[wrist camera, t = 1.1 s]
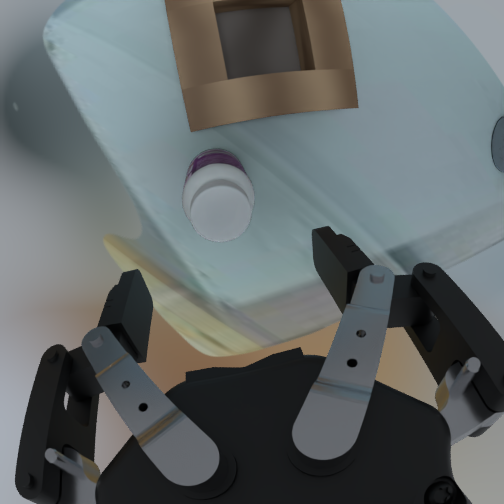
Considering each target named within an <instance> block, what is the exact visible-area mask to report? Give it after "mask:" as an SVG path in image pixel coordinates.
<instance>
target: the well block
mask: <svg viewBox="0 0 504 504" xmlns="http://www.w3.org/2000/svg"><path fill="white" fill-rule="evenodd" d="M165 5H166V11H167V16H168V22H169V27H170V33H171V38H172V43H173V49H174V54H175V59H176V64H177V69H178V74H179V79H180V84H181V89H182V93H183V98H184V103H185V107H186V112H187V117H188V121H189V126H190V130H191V132H194V131H198V130H202V129H206V128H211V127H216V126H220V125H225V124H230V123H235V122H241V121H246V120H252V119H258V118H264V117H271V116H277V115H285V114H292V113H301V112H310V111H320V110H332V109H347V108H358V99H357V90H356V82H355V75H354V68H353V61H352V55H351V48H350V43H349V37H348V32H347V27H346V22H345V17H344V12H343V8H342V4H341V0H165Z"/></svg>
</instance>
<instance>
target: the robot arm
mask: <svg viewBox="0 0 504 504" xmlns="http://www.w3.org/2000/svg"><path fill="white" fill-rule="evenodd" d="M492 154H493V160H494V163H495V166H496V167H497V169H498V170H500V171H502V172H504V117H502V118H501V119H500V120H499V121H498V123H497V125H496V127H495V130H494V134H493V140H492ZM312 244H313V260H314V265H315V268H316V271H317V272H318V274H319V276H320V277H321V279H322V281H323V282H324V284H325V286H326V287H327V289H328V290H329V292H330V294H331V295H332V297H333V299H334V300H335V302H336V304H337V306H338V307H339V309H340V311H341V312H342V314H343V316H342V318H341V321H340V324H339V327H338V329H337V332H336V335H335V337H334V340H333V343H332V345H331V348H330V350H329V353H328V355H327V357H323V356H318V355H303V352H302V350H301V348H300V347H299V348H296V349H292V350H288V351H284V352H280V353H276V354H272V355H270V356H268V357H266V358H264V359H261V360H259V361H257V362H255V363H253V364H251V365H248V366H246V367H241V368H230V367H229V368H227V367H212V368H206V369H201V370H195V371H189V372H186V381H184V382H182V383H180V384H178V385H176V386H175V387H173V388H171V389H170V390H169V391H168V392H167V393H165V394H163V392H162V391H161V390H160V389H159V388H158V387H157V386H156V385H155V384H154V382H153V381H152V380H151V379H150V378H149V377H148V376H147V375H146V373H145V372H144V371H143V370H142V369H141V367H140V366H139V365H138V364H137V363H142V362H146V357H147V348H148V341H149V333H150V325H151V319H152V312H153V301H152V297H151V295H150V293H149V290H148V288H147V286H146V284H145V281H144V279H143V277H142V275H141V272H140V271H139V270H138V269H136V270H131V271H127V272H123V273H122V276H121V278H120V281H119V284H118V285H115V286H114V287H113V288H112V290H111V291H110V292H109V294H108V297H107V300H106V303H105V305H104V308H103V311H102V314H101V317H100V320H99V323H98V326H97V327H96V328H94V329H92V330H90V331H89V332H88V333H87V334H86V335H85V336H84V338H83V340H82V344H81V345H82V346H81V347H78V348H76V349H74V350H71V351H69V352H68V351H67V350H66V349H65V347H64V346H63V345H59V344H57V345H54V346H52V347H50V348H49V349H47V350H46V352H45V353H44V354H43V356H42V358H41V362H40V364H39V367H38V371H37V374H36V377H35V381H34V384H33V388H32V391H31V395H30V399H29V403H28V407H27V411H26V415H25V419H24V425H23V429H22V434H21V440H20V445H19V452H18V458H17V465H16V474H15V484H16V488H17V490H18V492H19V494H20V495H22V497H24V498H26V499H28V500H30V501H32V502H34V503H37V504H472V503H471V502H470V500H469V499H468V498H467V497H466V496H465V495H464V493H463V492H462V491H461V489H460V488H459V487H458V485H457V484H456V482H455V480H454V477H453V473H452V468H451V459H450V458H451V454H450V451H451V446H452V445H453V444H455V443H457V442H458V441H460V440H462V439H464V438H465V437H467V436H470V437H476V436H480V435H481V434H483V433H484V432H485V431H486V430H487V429H488V428H489V427H491V426H492V425H493V424H494V423H495V422H496V421H497V420H498V419H499V418H500V417H501V416H502V415H503V414H504V341H503V339H502V338H501V337H500V335H499V334H498V333H497V332H496V331H495V329H494V328H493V326H492V325H491V324H490V323H489V321H488V320H487V319H486V318H485V317H484V315H483V314H482V313H481V312H480V311H479V309H478V308H477V307H476V306H475V305H474V304H473V302H472V301H471V300H470V299H469V298H468V297H467V296H466V294H465V293H464V292H463V291H462V290H461V289H460V288H459V287H458V286H457V285H456V283H455V282H454V281H453V280H452V279H451V278H450V277H449V276H448V275H447V274H446V273H445V272H444V271H443V270H442V269H441V268H440V267H439V266H437V265H435V264H432V263H419V264H417V265H416V266H415V267H414V268H413V273H412V275H394V273H393V272H392V271H391V270H390V269H389V268H387V267H384V266H381V265H374V264H373V263H372V261H371V260H370V259H369V258H368V257H367V256H366V255H365V254H364V253H363V251H362V250H360V248H359V247H358V246H357V245H356V244H355V243H354V242H353V241H352V240H351V239H350V238H349V237H347V236H345V235H342V234H339V235H336V234H335V232H334V231H333V230H332V229H331V228H330V227H329V226H326V227H321V228H317V229H313V230H312ZM435 316H436V317H435ZM437 319H438V320H437ZM394 327H404V329H405V330H406V332H407V333H408V335H409V337H410V338H411V340H412V341H413V343H414V345H415V346H416V348H417V350H418V351H419V353H420V355H421V356H422V358H423V360H424V361H425V363H426V365H427V366H428V368H429V370H430V372H431V373H432V375H433V377H434V379H435V380H436V382H437V384H438V388H437V390H436V393H435V399H436V403H437V406H438V410H437V409H436V408H434V407H433V406H431V405H429V404H427V403H424V402H422V401H420V400H417V399H415V398H413V397H411V396H409V395H407V394H404V393H402V392H400V391H398V390H396V389H393V388H391V387H389V386H387V385H385V384H382V383H380V382H379V381H376V380H375V377H376V373H377V370H378V366H379V362H380V357H381V353H382V348H383V344H384V339H385V335H386V330H387V328H394ZM65 392H67V393H68V394H69V398H68V405H67V410H65V407H64V397H65ZM103 392H105V394H106V395H107V397H108V398H109V400H110V401H111V403H112V404H113V406H114V408H115V409H116V411H117V412H118V413H119V415H120V416H121V418H122V419H123V421H124V422H125V424H126V425H127V426H128V428H129V429H130V431H131V432H132V433H133V435H132V436H131V437H130V438H129V440H128V441H127V442H126V444H125V445H124V446H123V447H122V449H121V450H120V451H119V452H118V454H117V455H116V456H115V457H114V459H113V460H112V461H111V462H110V464H109V465H108V466H107V467H106V469H105V470H104V471H103V472H102V474H101V475H100V470H99V468H98V466H97V465H96V464H95V463H94V453H95V434H96V422H97V411H98V402H99V394H100V393H103Z"/></svg>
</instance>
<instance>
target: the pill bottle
mask: <svg viewBox="0 0 504 504" xmlns="http://www.w3.org/2000/svg"><path fill="white" fill-rule="evenodd" d="M254 202H255V194H254V189H253V185H252V183H251V181H250V179H249V177H248V176H247V174H246V172H245V170H244V168H243V167H242V165H241V163H240V161H239V160H238V159H237V157H236V156H234V155H233V154H232V153H230V152H228V151H226V150H222V149H210V150H206V151H204V152H202V153H200V154H199V155H197V156H196V157H195V158H194V159H193V161H192V162H191V164H190V166H189V168H188V171H187V176H186V180H185V184H184V189H183V194H182V203H183V209H184V211H185V214H186V216H187V217H188V219H189V220H190V221H191V223H192V226H193V227H194V229H195V231H196V232H197V233H198V234H199V235H200V236H202V237H203V238H205V239H207V240H210V241H213V242H227V241H230V240H233V239H235V238H237V237H238V236H240V235H241V234H242V233H243V232H244V231H245V230H246V229H247V227H248V225H249V223H250V220H251V214H252V210H253V207H254Z"/></svg>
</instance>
